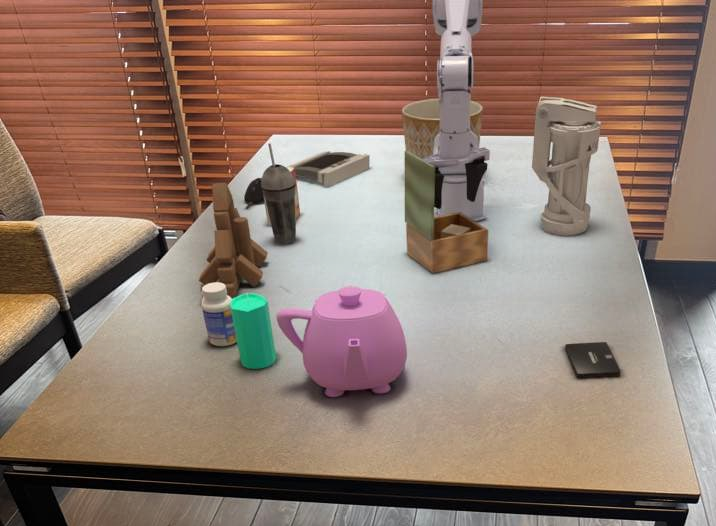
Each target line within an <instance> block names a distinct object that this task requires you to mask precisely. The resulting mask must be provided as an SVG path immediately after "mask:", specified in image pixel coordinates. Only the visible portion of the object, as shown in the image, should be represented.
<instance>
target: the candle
mask: <svg viewBox="0 0 716 526" xmlns="http://www.w3.org/2000/svg"><path fill="white" fill-rule="evenodd" d="M230 307H231V312H232V317H233V323H234V328H235V333H236V338H237V342H236V344H237V349H238V352H239V358H240V363H241V365H242V366H243V367H245V368H247V369H254V370H259V369H265V368H268V367H270V366H271V365H274V364H275V363H276V361H277V354H276V348H275V347H276V346H275V341H274V335H273V328H272V322H271V315H270V309H269V303H268V300H267V298H266V297H265V296H263V295H260V294H257V293H253V292H246V293H243V294H239V295H238V296H237V295H236V297H235V298H233V299H232V300H231V302H230Z"/></svg>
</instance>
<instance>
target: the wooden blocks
mask: <svg viewBox="0 0 716 526" xmlns="http://www.w3.org/2000/svg"><path fill="white" fill-rule="evenodd" d="M211 186H212V187H211V188H212V210H213V217H214V223H215V228H216V229H215V230H214V246H213V248H212V249H211V251H209V253H208V255H207V257H206V262H207V263H209V264H207V266H206V267H205V269H204V270H203V271H202V272H201V274H200V275H199V278H198V282H200V283H202V284H203V286H205V285H206V284H209V283H214V282H218V281H219V283H223V284H225V286H226V290H227V295H228V296H230V297H231V298H232V299H233V298H235V297H237V295H238V291H239V287H240V284H241V280H242V279H243V280H244V281H245V282H247V283H248V284H249V285H251V286H252V287H256V286H257V285H258V283H260V281H261V280H262V279H263V275H264V271H263V270H261V268H260V267H261V266H262V264H263V263H264V262H265V261H266V259H267V258H268V251H267V250H266V249H264V247H262V246H261V245H259V244H258V243H257V242H256V241H254V240H253V239H252V238H251V232H250V231H251V230H250V225H249V219H248V218H247V217H246V216H241V215H240V212H239V211H238V209H237V207H235V202H234V199H233V194H232V193H231V190H230V188H229V185H228V183H227V182H218V183H217V182H214V183H212V185H211ZM203 299H204V296H203V297H202V300H201V302H202V301H203Z"/></svg>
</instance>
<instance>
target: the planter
mask: <svg viewBox="0 0 716 526" xmlns="http://www.w3.org/2000/svg"><path fill="white" fill-rule="evenodd" d="M483 110H484V107H483V105H482V104H480V103H479V102H477V101H474V100H471V106H470V130H471V131H472V132H473V133H474V134H476V135H477V138H478V147H479V148H480V143H481V133H482V132H481V131H482V121H483ZM401 116H402V117H401V118H402V127H403V138H404V146H405V147H404V148H405V151H409V152H410V153H412V154H414V155H416V156H417V157H419V158H421V159H424V158H427V157H430V156H433V149H434V140H435V137H436V136H437V135H438V134H439V133H440V104H439V97H438V98H429V99H422V100H421V99H420V100H417V101H414V102H410V103H408V104H406V105H404V106H403V107H402V109H401ZM470 145H471V144H470ZM473 149H474V148H473Z"/></svg>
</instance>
